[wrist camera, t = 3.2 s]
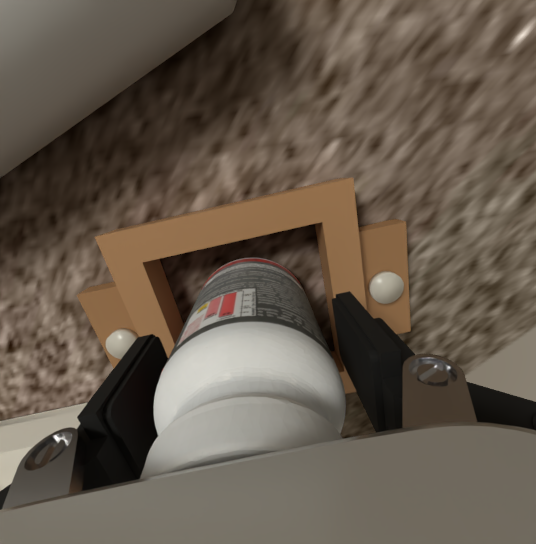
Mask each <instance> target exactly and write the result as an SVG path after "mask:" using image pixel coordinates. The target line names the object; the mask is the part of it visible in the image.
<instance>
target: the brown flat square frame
mask: <svg viewBox="0 0 536 544" xmlns="http://www.w3.org/2000/svg"><path fill="white" fill-rule="evenodd" d="M311 224H315V229H316V235H317V241H318V248H319V254H320V260H321V267H322V273H323V279H324V286H325V292H326V298H327V304H328V311H329V317H330V323H331V330H332V336H333V342H334V349H335V351H331V354H332V356H333V359H334V361H335V363H336V366H337V368H338V371H339V373H340V376H341V378H342V381H343V385H344V389H345V394H347V393H352V392H357V391H356V389H355V387H354V385H353V383H352V381H351V379H350V377H349V375H348V373H347V371H346V369H345V366H344V364H343V362H342V360H341V357H340V352H339V346H338V339H337V332H336V326H335V319H334V313H333V306H332V299H333V298H336V294H339V293H344V292H349V291H350V292H351V293H352V294H353V295H354V296H355V298H356V299H357V300H358V301H359V302H360V303H361V305H362V306H363V307H364V308H365V309H366V310H367V311H368V313H369V314H370V315H371V316H372V317H373V318H381V319H383V320H384V321H385V323H386V324H387V325H388V326H389V327H390V328H391V329H392V330H393V331H394V332H395V333H396V334H400V333H405V332H410V331H411V326H410V303H409V280H408V257H407V234H406V222H405V221H402V220H398V219H392V220H388V221H383V222H379V223H374V224H370V225H365V226H361V227H358V220H357V210H356V200H355V191H354V181H353V178H339V179H334V180H330V181H326V182H321V183H317V184H313V185H308V186H304V187H300V188H295V189H291V190H287V191H282V192H278V193H273V194H269V195H265V196H260V197H256V198H252V199H247V200H243V201H239V202H234V203H230V204H226V205H221V206H217V207H212V208H208V209H204V210H199V211H195V212H191V213H186V214H182V215H178V216H173V217H169V218H165V219H160V220H156V221H151V222H147V223H143V224H138V225H134V226H130V227H125V228H121V229H117V230H114V231H111V232H108V233H105V234H102V235H99V236H96V237H95V239H96V241H97V243H98V246H99V248H100V250H101V252H102V255H103V257H104V259H105V261H106V264H107V266H108V268H109V270H110V273H111V275H112V277H113V279H114V282H110V283H106V284H102V285H97V286H93V287H89V288H87V289H86V290H84V291H82V292H81V293H79V294H78V295H77V297H78V299H79V301H80V303H81V304H82V306H83V308H84V310H85V312H86V314H87V316H88V318H89V320H90V322H91V324H92V326H93V328H94V330H95V332H96V334H97V336H98V338H99V340H100V342H101V344H102V346H103V348H104V350H105V352H106V354H107V356H108V358H109V360H110V362H111V364H112V366H113V368H115V367H116V365H117V364H118V363H119V361H120V360H121V359H122V357H123V356H124V355H125V353H126V352H127V351H128V349H129V348H130V347H131V345H132V344H133V343H134V342H135V340H136V339H137V338H138V337H141V336H146V335H150V334H153V335H155V336H156V337H159V338H160V340H161V342H162V344H163V347H164V349H165V352H166V354H167V357H168V358H169V356H170V354H171V351H172V349H173V348H174V346H175V344H176V341H177V339H178V337H179V335H180V333H181V331H182V329H183V327H184V324H183V321H182V318H181V316H180V313H179V310H178V308H177V305H176V302H175V300H174V297H173V294H172V291H171V289H170V286H169V283H168V281H167V278H166V275H165V273H164V270H163V267H162V264H161V262H160V258H165V257H169V256H174V255H178V254H182V253H187V252H191V251H196V250H200V249H205V248H209V247H214V246H218V245H222V244H227V243H231V242H236V241H240V240H245V239H249V238H254V237H258V236H262V235H267V234H271V233H276V232H280V231H285V230H289V229H293V228H298V227H302V226H307V225H311Z"/></svg>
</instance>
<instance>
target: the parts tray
mask: <svg viewBox="0 0 536 544" xmlns="http://www.w3.org/2000/svg"><path fill="white" fill-rule="evenodd" d="M86 405H87V403H84V404H79V405H75V406H70V407H65V408H60V409H56V410H51V411H46V412H41V413H37V414H32V415H27V416H23V417H18V418H13V419H8V420H4V421H0V491H1V490H3V489H4V488H5V487H7V486H8V485H10V484H11V483H12V481H13V478H14V476H15V473H16V470H17V468H18V465H19V464H20V462H21V460H22V458H23V457H24V456H25V455H26V454H27V452H28V451H29V450H30V449H32V448H33V447H34V446H35V445H36V444H37V443H38V442H40V441H41V440H42V439H44V438H45V437H47V436H48V435H50V434H52V433H54V432H56V431H58V430H61V429H63V428H68V427H72V428H75V429H77V428H78V427H79V425H80V422H79V420H78V419H77V416H78V415H79V414H80V413H81V411H82V410H83V409H84V407H85V406H86Z"/></svg>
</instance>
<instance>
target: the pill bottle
mask: <svg viewBox="0 0 536 544" xmlns="http://www.w3.org/2000/svg"><path fill="white" fill-rule="evenodd" d="M153 408H154V421H155V427H156V430H157V434H158V437H157V438H156V440H155V441H154V443H153V445H152V447H151V448H150V450H149V453H148V456H147V459H146V462H145V465H144V469H143V471H142V474H141V477H140V479H143V478H148V477H152V476H157V475H162V474H167V473H172V472H177V471H182V470H187V469H192V468H197V467H202V466H207V465H212V464H217V463H222V462H227V461H232V460H237V459H242V458H247V457H252V456H257V455H262V454H267V453H272V452H277V451H282V450H287V449H293V448H298V447H303V446H308V445H313V444H318V443H323V442H329V441H334V440H339V439H343V438H342V436H341V435H340V433H341V431H342V427H343V424H344V419H345V413H346V396H345V389H344V385H343V381H342V378H341V376H340V373H339V371H338V368H337V366H336V363H335V361H334V359H333V356H332V354H331V352H330V350H329V348H328V345H327V343H326V341H325V339H324V337H323V334H322V332H321V330H320V327H319V325H318V323H317V321H316V318H315V316H314V314H313V311H312V309H311V306H310V304H309V302H308V299H307V297H306V295H305V293H304V290H303V288H302V286H301V284H300V283H299V281H298V280H297V278H296V277H295V276H294V275H293V274H292V273H291V272H290V271H289V270H288V269H286V268H285V267H283V266H282V265H280V264H278V263H276V262H274V261H271V260H268V259H263V258H242V259H238V260H234V261H232V262H229V263H227V264H225V265H223V266H222V267H220V268H219V269H217V270H216V271H215V272H214V273H213V274H212V275H211V276H210V277H209V278H208V280H207V281H206V283H205V284H204V286H203V288H202V289H201V292H200V294H199V296H198V298H197V300H196V302H195V304H194V306H193V308H192V311H191V313H190V315H189V317H188V319H187V321H186V323H185V325H184V327H183V329H182V331H181V333H180V335H179V337H178V339H177V341H176V344H175V346H174V348H173V349H172V351H171V354H170V356H169V358H168V360H167V362H166V364H165V366H164V368H163V370H162V372H161V375H160V379H159V382H158V384H157V388H156V392H155V396H154V406H153Z"/></svg>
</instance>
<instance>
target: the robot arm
mask: <svg viewBox="0 0 536 544" xmlns="http://www.w3.org/2000/svg"><path fill="white" fill-rule="evenodd" d="M332 306H333V313H334V319H335V326H336V332H337V339H338V346H339V352H340V357H341V360H342V362H343V364H344V366H345V369H346V371H347V373H348V375H349V377H350V379H351V381H352V383H353V385H354V387H355V389H356V391H357V394H358V396H359V398H360V400H361V402H362V404H363V406H364V408H365V410H366V412H367V414H368V416H369V418H370V421H371V423H372V425H373V427H374V429H375V431H376V433H372V434H366V435H361V436H355V437H349V438H344V439H339V440H334V441H329V442H323V443H318V444H313V445H308V446H303V447H298V448H293V449H287V450H282V451H277V452H272V453H267V454H262V455H257V456H252V457H247V458H242V459H237V460H232V461H227V462H222V463H217V464H212V465H207V466H202V467H197V468H192V469H187V470H182V471H177V472H172V473H167V474H162V475H157V476H152V477H148V478H143V479H140V477H141V474H142V471H143V469H144V465H145V462H146V459H147V456H148V453H149V450H150V448H151V447H152V445H153V443H154V441H155V440H156V438H157V437H158V434H157V430H156V427H155V421H154V408H153V406H154V396H155V392H156V388H157V384H158V382H159V379H160V375H161V372H162V370H163V368H164V366H165V364H166V362H167V360H168V357H167V354H166V352H165V349H164V347H163V344H162V342H161V340H160V338H159V337H156V336H155V335H153V334H150V335H146V336H141V337H138V338H137V339H136V340H135V342H134V343H133V344H132V345H131V347H130V348H129V349H128V351H127V352H126V353H125V355H124V356H123V357H122V359H121V360H120V361H119V363H118V364H117V365H116V367H115V368H114V369H113V370H112V372H111V373H110V374H109V376H108V377H107V378H106V380H105V381H104V382H103V384H102V385H101V386H100V388H99V389H98V390H97V392H96V393H95V394H94V395H93V397H92V398H91V399H90V401H89V402H88V403H87V405H86V406H85V407H84V409H83V410H82V411H81V413H80V414H79V415H78V416H77V419H78V420H79V422H80V425H79V427H78V428H77V429H75V428H72V427H68V428H63V429H61V430H58V431H56V432H54V433H52V434H50V435H48V436H47V437H45V438H44V439H42V440H41V441H40V442H38V443H37V444H36V445H35V446H34V447H33V448H32V449H30V450H29V451H28V452H27V454H26V455H25V456H24V457H23V458H22V460H21V462H20V464H19V465H18V468H17V470H16V473H15V476H14V478H13V481H12V483H11V484H10V485H8V486H7V487H5V488H4V489H3V490H1V491H0V544H536V402H534V401H531V400H527V399H524V398H520V397H517V396H513V395H510V394H507V393H503V392H500V391H496V390H493V389H490V388H486V387H483V386H479V385H476V384H473V383H469V382H466V379H465V375H464V373H463V371H462V369H461V368H460V367H459V366H458V365H457V364H456V363H454V362H452V361H451V360H449V359H447V358H444V357H441V356H438V355H433V354H419V355H415V354H414V353H413V352H412V351H411V350H410V349H409V347H408V346H407V345H406V344H405V343H404V342H403V341H402V340H401V339H400V338H399V337H398V336H397V334H396V333H395V332H394V331H393V330H392V329H391V328H390V327H389V326H388V325H387V324H386V323H385V321H384V320H383V319H381V318H373V317H372V316H371V315H370V314H369V313H368V311H367V310H366V309H365V308H364V307H363V306H362V305H361V303H360V302H359V301H358V300H357V299H356V298H355V296H354V295H353V294H352V293H351V292H350V291H349V292H344V293H339V294H336V298H333V299H332Z"/></svg>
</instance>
